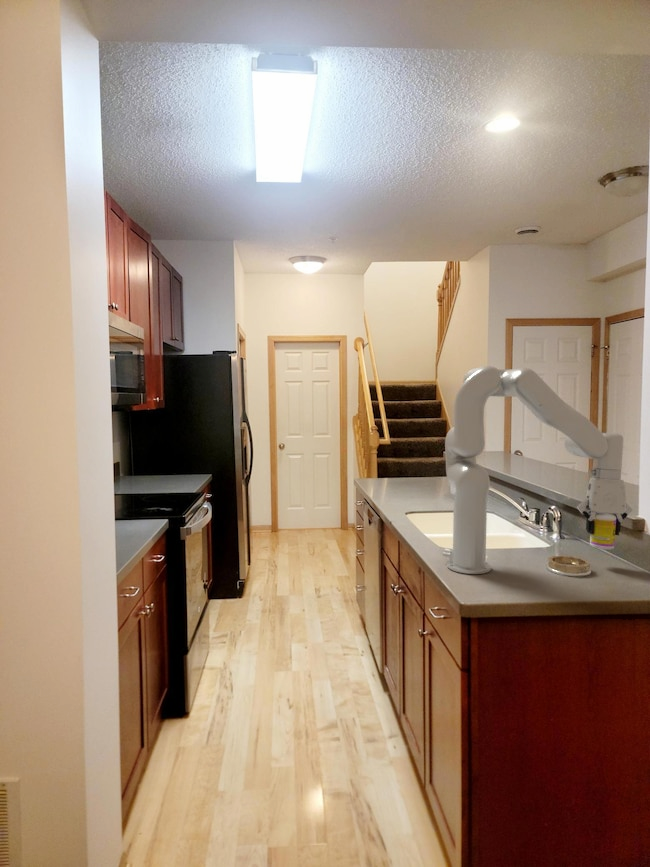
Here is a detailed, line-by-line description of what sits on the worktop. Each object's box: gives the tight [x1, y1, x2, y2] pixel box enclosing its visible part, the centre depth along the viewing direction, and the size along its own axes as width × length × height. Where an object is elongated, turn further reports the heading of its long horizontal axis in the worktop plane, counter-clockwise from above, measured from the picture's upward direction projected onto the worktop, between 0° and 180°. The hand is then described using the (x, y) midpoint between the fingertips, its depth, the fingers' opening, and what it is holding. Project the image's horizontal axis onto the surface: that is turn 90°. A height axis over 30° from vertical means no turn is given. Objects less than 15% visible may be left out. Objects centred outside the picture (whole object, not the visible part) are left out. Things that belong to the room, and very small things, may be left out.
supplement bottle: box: [589, 513, 616, 551], centre depth 164 cm, size 7×7×13 cm
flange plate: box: [546, 555, 592, 578], centre depth 162 cm, size 12×12×3 cm
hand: (602, 533), depth 164 cm, fingers closed on supplement bottle, 6 cm apart
